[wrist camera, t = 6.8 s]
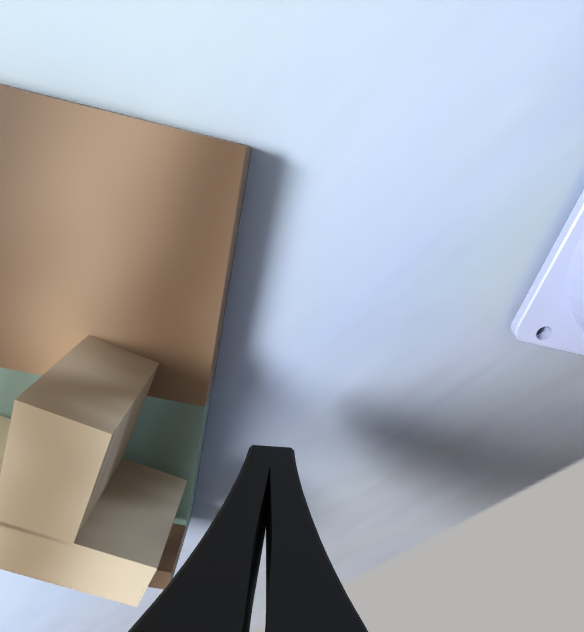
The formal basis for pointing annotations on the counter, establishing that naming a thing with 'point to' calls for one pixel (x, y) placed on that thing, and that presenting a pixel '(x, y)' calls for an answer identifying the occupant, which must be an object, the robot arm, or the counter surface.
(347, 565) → the counter surface
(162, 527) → the t block
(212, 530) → the robot arm
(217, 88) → the counter surface
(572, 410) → the counter surface
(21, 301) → the board
